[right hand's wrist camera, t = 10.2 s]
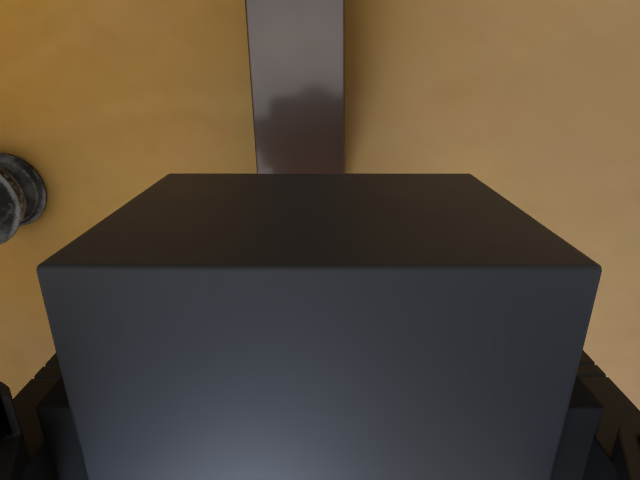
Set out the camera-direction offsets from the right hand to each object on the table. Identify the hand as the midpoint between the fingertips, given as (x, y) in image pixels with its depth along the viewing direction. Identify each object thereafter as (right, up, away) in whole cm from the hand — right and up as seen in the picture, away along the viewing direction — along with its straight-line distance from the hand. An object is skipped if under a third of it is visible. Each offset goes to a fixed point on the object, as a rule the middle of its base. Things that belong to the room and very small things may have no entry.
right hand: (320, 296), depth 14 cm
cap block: (0, 0, -1) cm, 1 cm away
